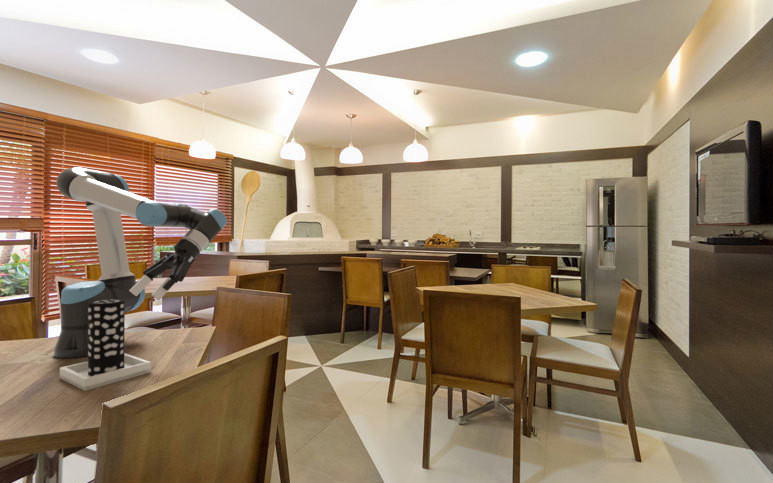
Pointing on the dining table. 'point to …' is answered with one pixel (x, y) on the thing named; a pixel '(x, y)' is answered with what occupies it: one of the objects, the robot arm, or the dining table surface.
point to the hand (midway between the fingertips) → (143, 295)
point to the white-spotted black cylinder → (106, 336)
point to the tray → (82, 380)
